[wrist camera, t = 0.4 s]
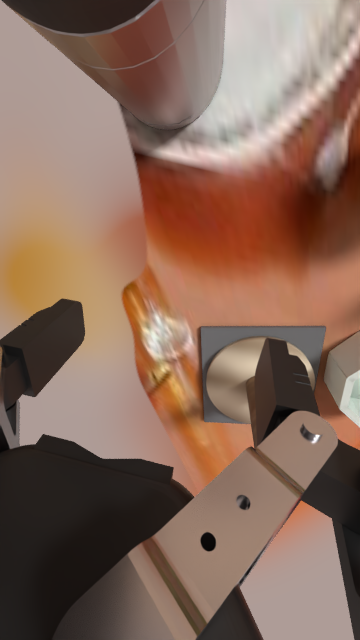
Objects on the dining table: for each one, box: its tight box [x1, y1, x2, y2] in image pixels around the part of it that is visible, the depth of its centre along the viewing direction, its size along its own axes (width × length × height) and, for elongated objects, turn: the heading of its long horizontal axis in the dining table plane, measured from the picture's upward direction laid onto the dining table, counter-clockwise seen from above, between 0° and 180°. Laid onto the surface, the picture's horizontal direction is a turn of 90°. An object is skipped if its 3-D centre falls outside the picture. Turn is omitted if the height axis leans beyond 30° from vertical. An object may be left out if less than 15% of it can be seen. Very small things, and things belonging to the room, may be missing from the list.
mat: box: [201, 326, 326, 424], centre depth 35 cm, size 15×14×1 cm
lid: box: [206, 336, 315, 448], centre depth 30 cm, size 13×13×11 cm
